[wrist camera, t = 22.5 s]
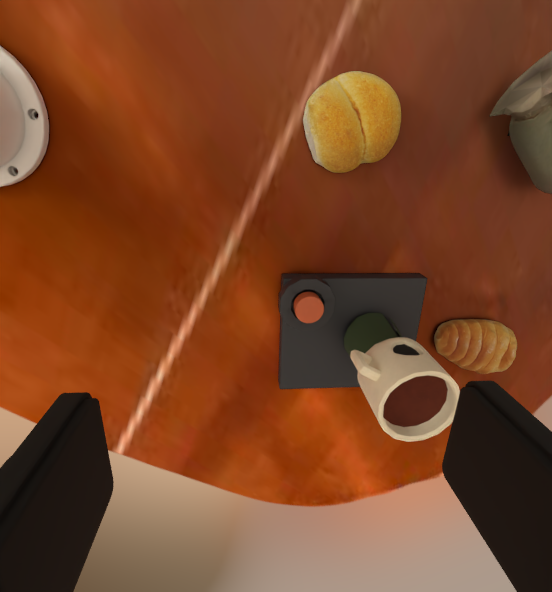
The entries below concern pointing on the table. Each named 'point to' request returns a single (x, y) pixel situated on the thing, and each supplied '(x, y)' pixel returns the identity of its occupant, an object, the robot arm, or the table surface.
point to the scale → (340, 322)
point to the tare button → (308, 307)
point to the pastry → (476, 344)
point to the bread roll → (351, 121)
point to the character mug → (400, 380)
